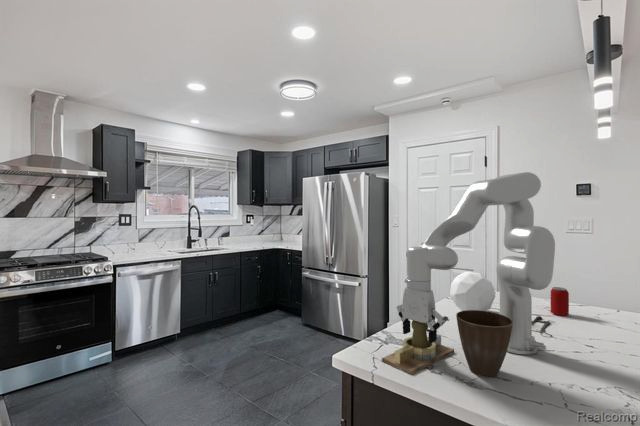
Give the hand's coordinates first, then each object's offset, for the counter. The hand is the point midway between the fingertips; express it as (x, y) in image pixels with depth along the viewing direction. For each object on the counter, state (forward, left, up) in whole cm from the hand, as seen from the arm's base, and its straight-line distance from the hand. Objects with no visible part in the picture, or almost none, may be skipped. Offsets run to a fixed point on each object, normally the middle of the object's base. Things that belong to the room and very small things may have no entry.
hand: (419, 337), depth 107 cm
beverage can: (-15, -88, -6) cm, 90 cm away
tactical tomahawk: (+11, -33, -7) cm, 36 cm away
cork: (0, 0, -6) cm, 6 cm away
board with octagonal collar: (0, 0, -6) cm, 6 cm away
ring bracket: (0, 0, -6) cm, 6 cm away
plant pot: (-18, -6, -6) cm, 20 cm away
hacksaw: (-16, -63, -7) cm, 66 cm away
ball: (+12, -60, -6) cm, 62 cm away
